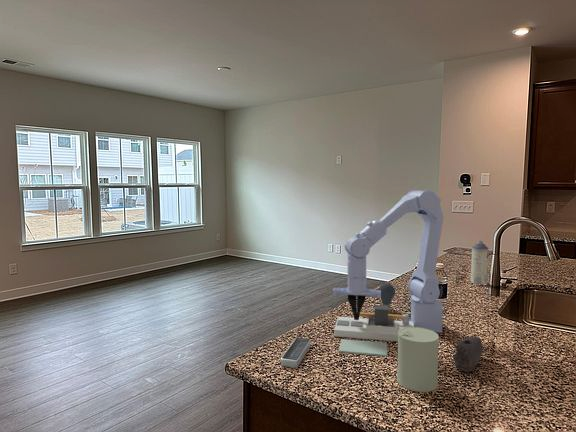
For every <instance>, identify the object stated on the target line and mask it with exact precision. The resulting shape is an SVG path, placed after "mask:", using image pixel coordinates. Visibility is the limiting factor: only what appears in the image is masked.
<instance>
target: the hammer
mask: <svg viewBox="0 0 576 432" xmlns="http://www.w3.org/2000/svg"><path fill="white" fill-rule="evenodd" d="M352 317H354V315H353V314H352ZM359 317H360V318H362V317H363V318H367V317H375V312H372V313H371V312H362V311H360V315H359ZM388 318H391V319H396V320H401V321H402V324H404V325H408V324H409V321H410V315H409V314H407V313H405V314H404V313H403V314H391V313H388Z"/></svg>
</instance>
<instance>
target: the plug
mask: <svg viewBox="0 0 576 432" xmlns="http://www.w3.org/2000/svg"><path fill="white" fill-rule="evenodd" d="M374 313H375V319H371V318H370V325H374V326H388V327H393V320H388V314H389V310H388V306H383V304H382V305H380V304H379V305H378V304H375V305H374Z"/></svg>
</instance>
